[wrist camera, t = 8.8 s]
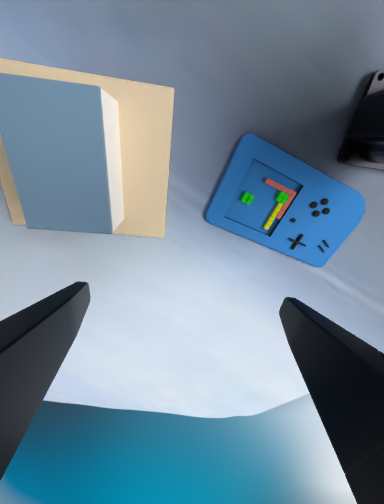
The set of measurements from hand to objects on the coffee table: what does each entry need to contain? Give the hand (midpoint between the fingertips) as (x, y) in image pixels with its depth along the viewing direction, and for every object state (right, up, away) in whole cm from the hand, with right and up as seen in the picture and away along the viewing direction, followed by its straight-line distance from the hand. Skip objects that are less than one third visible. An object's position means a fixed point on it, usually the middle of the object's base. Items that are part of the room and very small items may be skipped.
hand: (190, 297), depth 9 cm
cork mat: (-9, +10, +8) cm, 15 cm away
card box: (-9, +9, +7) cm, 15 cm away
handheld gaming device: (+10, +6, +11) cm, 16 cm away
